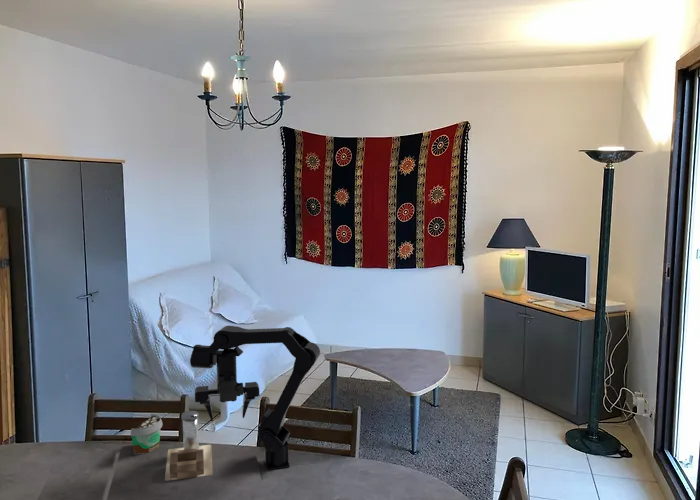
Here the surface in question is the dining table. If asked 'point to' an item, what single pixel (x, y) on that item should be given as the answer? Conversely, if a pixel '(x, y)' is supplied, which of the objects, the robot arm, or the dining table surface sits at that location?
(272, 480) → the dining table surface
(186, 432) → the silver tapered cylinder
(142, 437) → the food container
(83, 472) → the dining table surface
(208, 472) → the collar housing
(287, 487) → the dining table surface
